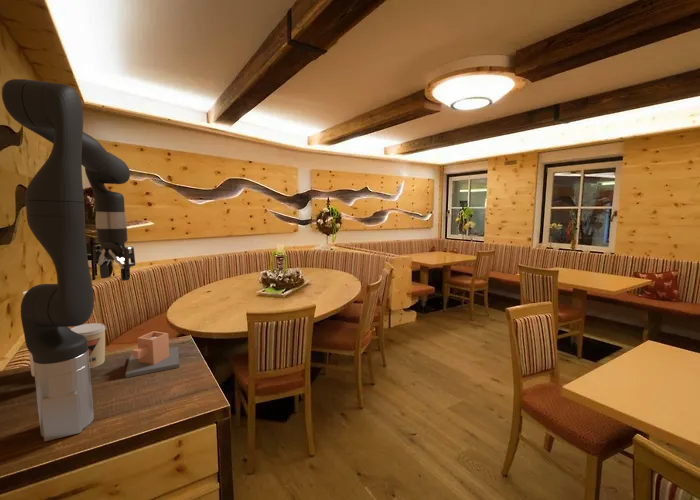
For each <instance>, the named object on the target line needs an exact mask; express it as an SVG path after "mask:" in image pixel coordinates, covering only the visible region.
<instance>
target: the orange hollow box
mask: <svg viewBox="0 0 700 500" xmlns="http://www.w3.org/2000/svg"><path fill="white" fill-rule="evenodd" d="M151 337H156V338H154V339H150V338H151ZM169 340H170V339H169V333H167V332H162V331H157V330H156V331H155V330H153V331H151V332H148V333H145V334H143V335H141V336H139V337H137V347H136V348H133V349H132V350H131V355H132V358H136V359H139V362H143V363H148V364H153V365H154V364H156V363H158V362H160V361H162V360H164V359H166V358H167V357H169V348H170V341H169Z"/></svg>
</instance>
